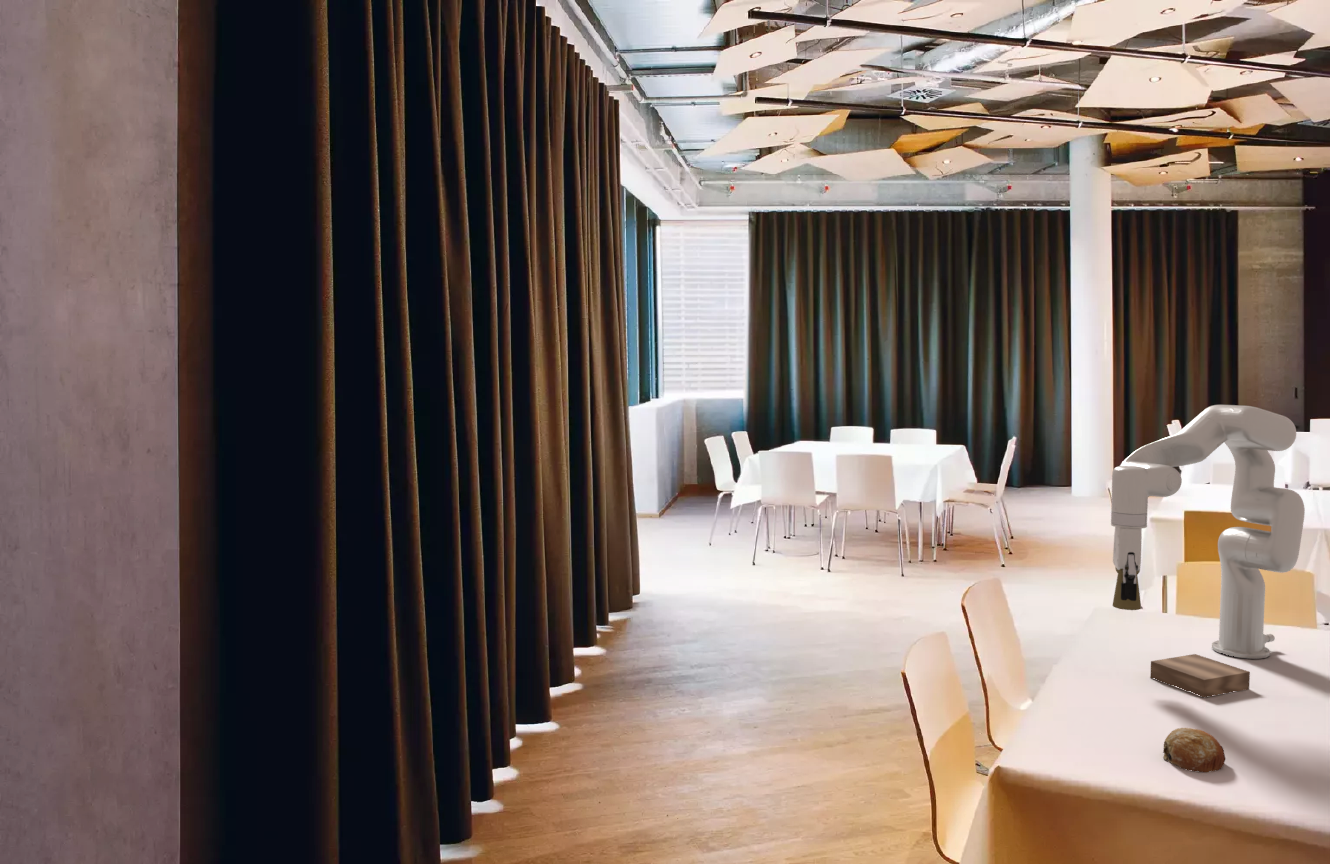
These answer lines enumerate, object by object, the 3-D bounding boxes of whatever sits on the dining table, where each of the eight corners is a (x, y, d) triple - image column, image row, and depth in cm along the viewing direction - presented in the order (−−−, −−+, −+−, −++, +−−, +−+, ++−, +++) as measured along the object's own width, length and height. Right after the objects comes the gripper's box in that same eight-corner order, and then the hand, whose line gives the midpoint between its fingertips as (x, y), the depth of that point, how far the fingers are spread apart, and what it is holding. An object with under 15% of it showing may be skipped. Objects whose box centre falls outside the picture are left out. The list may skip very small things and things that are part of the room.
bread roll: (1160, 769, 182) (1144, 733, 181) (1207, 745, 182) (1191, 708, 181) (1193, 793, 172) (1176, 755, 171) (1242, 767, 172) (1226, 729, 171)
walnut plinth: (1194, 670, 227) (1195, 653, 227) (1249, 689, 214) (1249, 671, 214) (1150, 677, 222) (1150, 661, 222) (1203, 697, 209) (1204, 679, 209)
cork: (1135, 603, 225) (1136, 557, 224) (1145, 610, 219) (1146, 562, 218) (1108, 603, 225) (1109, 557, 224) (1118, 609, 219) (1119, 562, 218)
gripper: (1107, 513, 229) (1105, 588, 231) (1115, 525, 214) (1113, 605, 215) (1141, 514, 227) (1139, 590, 228) (1152, 526, 211) (1150, 607, 213)
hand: (1127, 596), depth 222 cm, fingers closed on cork, 4 cm apart
